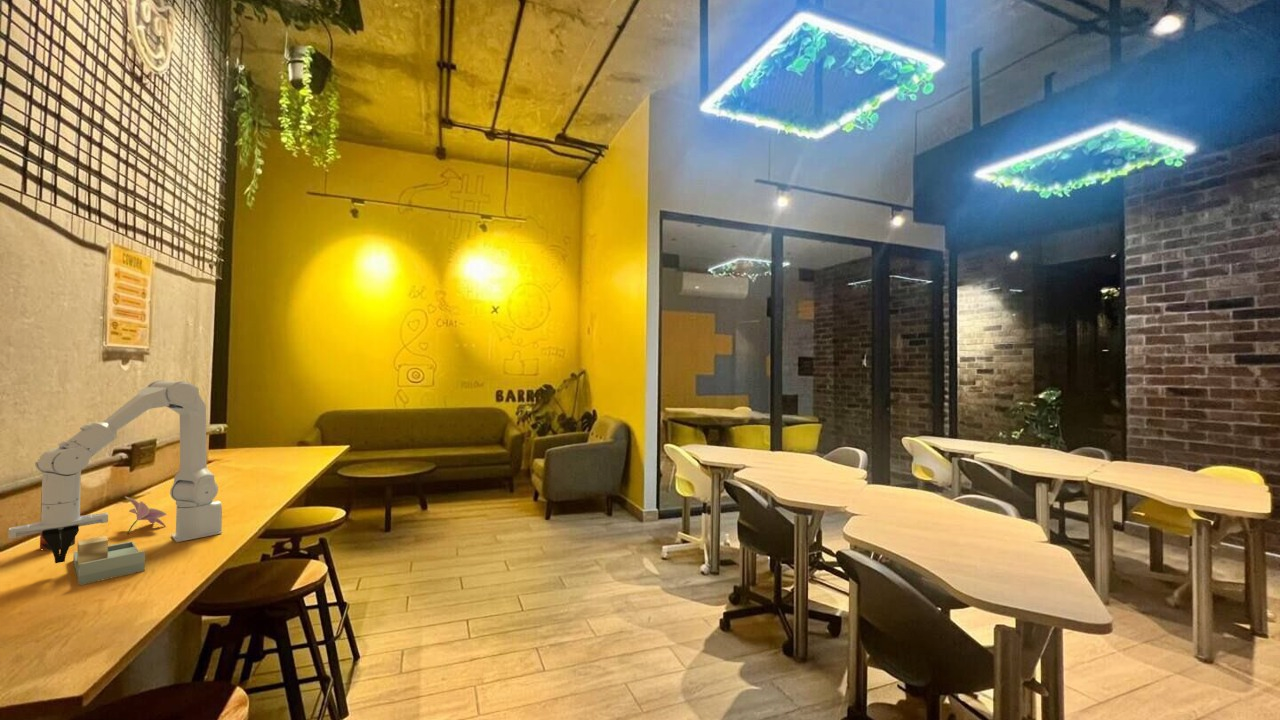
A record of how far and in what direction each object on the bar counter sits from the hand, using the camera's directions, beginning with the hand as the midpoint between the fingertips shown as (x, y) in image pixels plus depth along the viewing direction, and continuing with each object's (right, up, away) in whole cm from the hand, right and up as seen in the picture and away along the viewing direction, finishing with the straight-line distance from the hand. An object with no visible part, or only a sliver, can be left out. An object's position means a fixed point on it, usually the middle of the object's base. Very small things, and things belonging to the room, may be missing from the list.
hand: (59, 561), depth 111 cm
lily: (-12, -4, +31) cm, 33 cm away
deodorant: (-20, -3, +17) cm, 27 cm away
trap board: (+5, -3, +5) cm, 8 cm away
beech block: (+4, -1, +4) cm, 5 cm away
